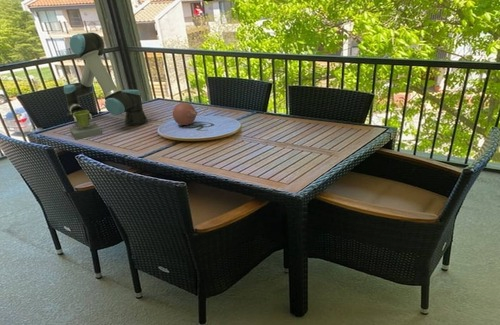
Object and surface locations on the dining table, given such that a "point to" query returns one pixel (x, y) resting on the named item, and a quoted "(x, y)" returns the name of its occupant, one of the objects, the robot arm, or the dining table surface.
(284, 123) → the dining table surface
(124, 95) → the robot arm
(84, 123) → the plant pot
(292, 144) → the dining table surface
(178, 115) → the brown egg-shaped ball
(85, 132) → the block
